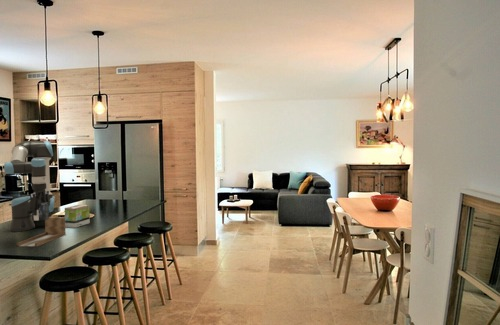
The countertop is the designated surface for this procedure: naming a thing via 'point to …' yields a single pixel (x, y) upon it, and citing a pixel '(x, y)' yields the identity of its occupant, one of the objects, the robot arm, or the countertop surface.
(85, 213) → the tea box
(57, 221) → the track
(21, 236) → the countertop surface
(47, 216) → the box
